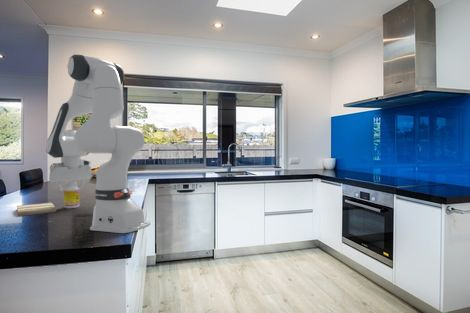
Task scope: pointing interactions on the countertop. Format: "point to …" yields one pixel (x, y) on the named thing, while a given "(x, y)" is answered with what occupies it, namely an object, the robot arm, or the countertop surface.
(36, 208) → the birch board
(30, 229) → the countertop surface
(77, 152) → the robot arm
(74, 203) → the supplement bottle
